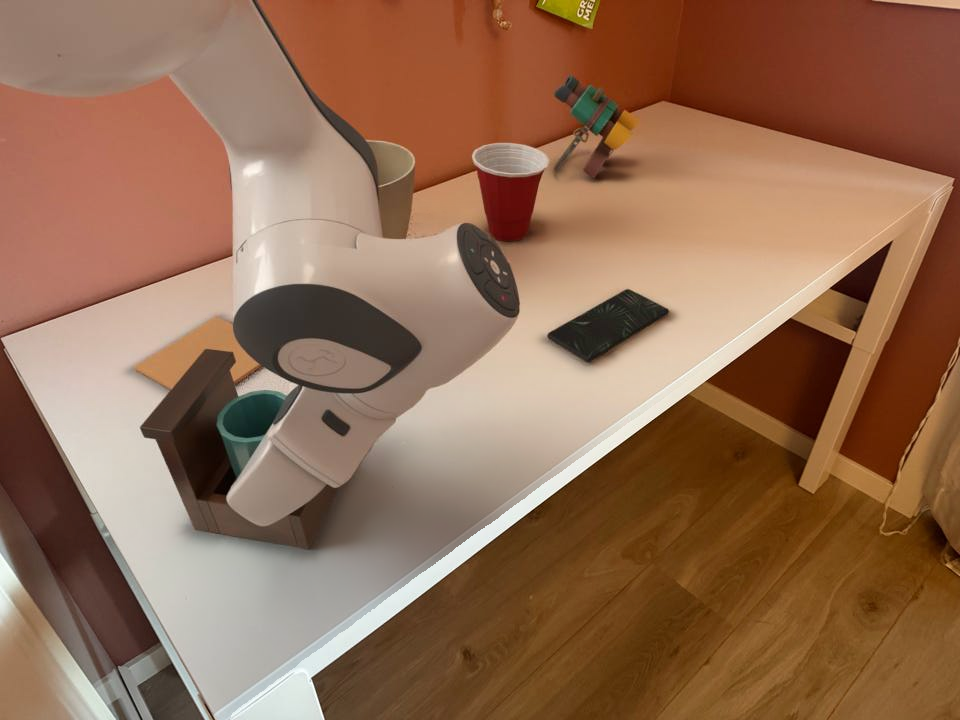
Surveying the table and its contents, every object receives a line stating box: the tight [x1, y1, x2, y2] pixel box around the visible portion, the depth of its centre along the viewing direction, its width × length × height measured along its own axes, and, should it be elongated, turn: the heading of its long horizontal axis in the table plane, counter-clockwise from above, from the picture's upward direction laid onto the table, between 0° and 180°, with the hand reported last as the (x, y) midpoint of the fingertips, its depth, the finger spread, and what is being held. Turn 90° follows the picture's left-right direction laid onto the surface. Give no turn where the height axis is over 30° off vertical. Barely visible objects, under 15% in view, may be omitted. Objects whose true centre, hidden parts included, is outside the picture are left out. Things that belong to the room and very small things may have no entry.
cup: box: [217, 389, 287, 479], centre depth 64 cm, size 6×6×11 cm
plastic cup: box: [471, 142, 550, 242], centre depth 103 cm, size 11×11×12 cm
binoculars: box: [552, 74, 641, 179], centre depth 120 cm, size 14×14×15 cm
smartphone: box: [547, 288, 670, 364], centre depth 87 cm, size 7×1×15 cm
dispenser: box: [139, 349, 340, 550], centre depth 64 cm, size 12×10×13 cm
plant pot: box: [365, 139, 416, 239], centre depth 94 cm, size 15×15×16 cm
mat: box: [133, 316, 263, 391], centre depth 84 cm, size 12×12×1 cm
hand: (266, 448), depth 63 cm, fingers open, 8 cm apart
